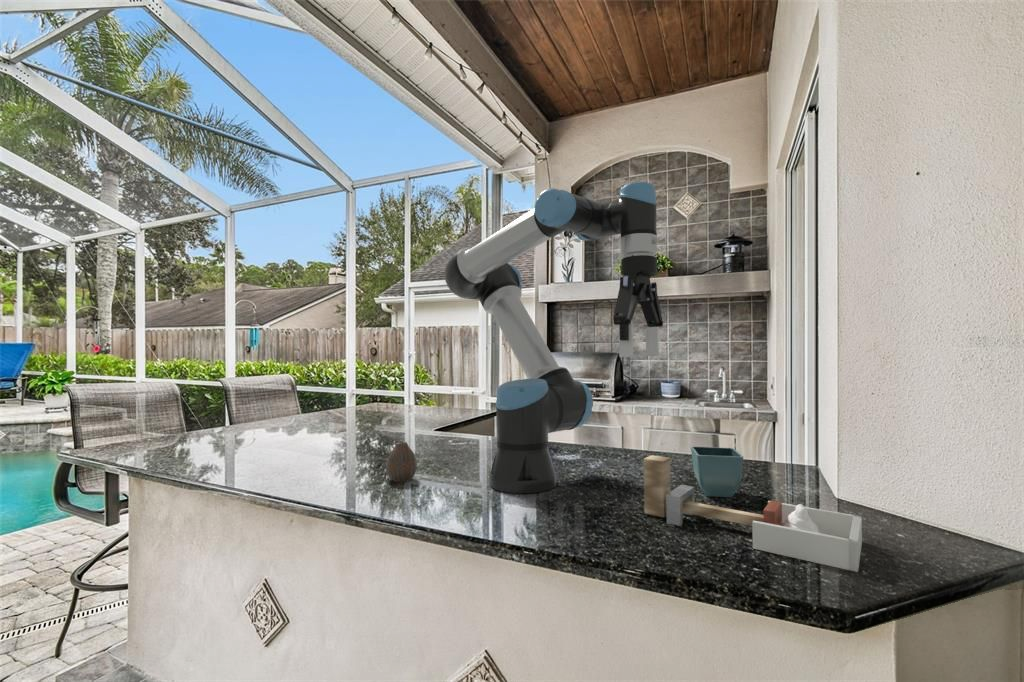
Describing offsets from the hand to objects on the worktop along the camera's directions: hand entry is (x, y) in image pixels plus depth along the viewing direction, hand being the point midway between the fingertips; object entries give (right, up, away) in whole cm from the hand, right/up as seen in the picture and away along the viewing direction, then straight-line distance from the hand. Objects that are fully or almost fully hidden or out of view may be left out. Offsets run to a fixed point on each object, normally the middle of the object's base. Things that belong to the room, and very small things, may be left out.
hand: (640, 356), depth 103 cm
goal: (+18, -28, -29) cm, 44 cm away
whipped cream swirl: (+17, -28, -28) cm, 43 cm away
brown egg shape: (-53, -30, +11) cm, 62 cm away
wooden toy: (+7, -28, -19) cm, 35 cm away
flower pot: (+15, -29, -2) cm, 33 cm away
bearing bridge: (+3, -28, -17) cm, 33 cm away
